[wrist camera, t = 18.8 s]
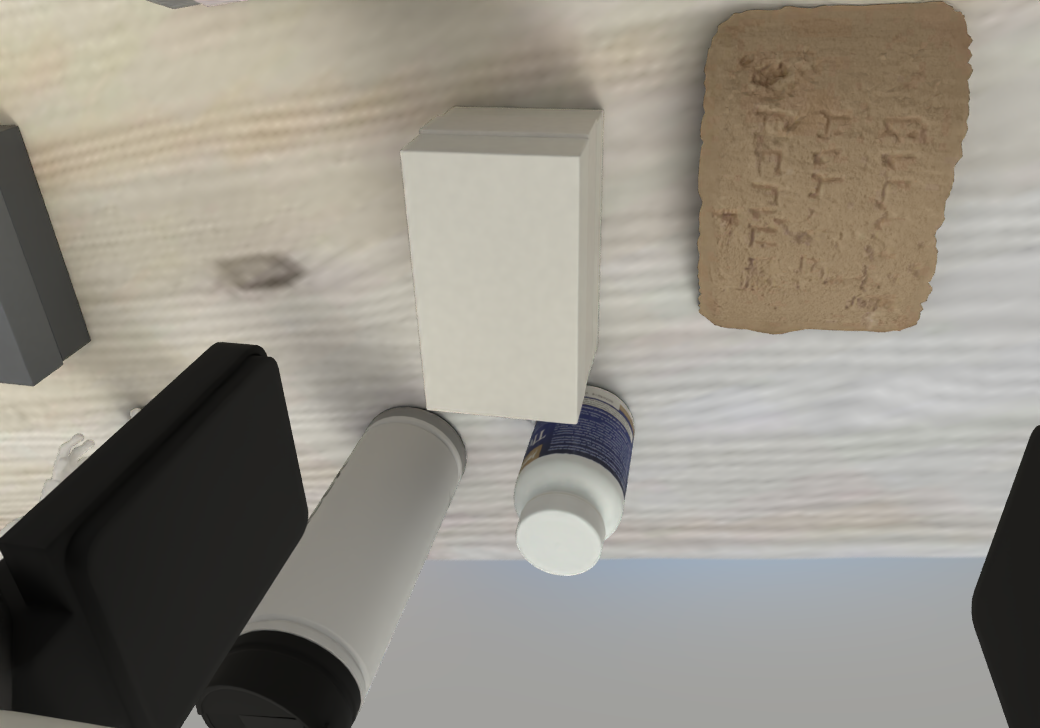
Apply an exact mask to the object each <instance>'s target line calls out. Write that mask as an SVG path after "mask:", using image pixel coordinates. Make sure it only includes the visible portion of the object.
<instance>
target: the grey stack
mask: <svg viewBox="0 0 1040 728" xmlns="http://www.w3.org/2000/svg"><path fill="white" fill-rule="evenodd" d="M90 341H91V340H90V337H89V334H88V331H87V328H86V325H85V323H84V320H83V317H82V314H81V311H80V308H79V305H78V302H77V299H76V296H75V293H74V290H73V287H72V284H71V281H70V278H69V275H68V272H67V269H66V267H65V264H64V261H63V258H62V255H61V252H60V249H59V246H58V243H57V240H56V237H55V234H54V231H53V228H52V225H51V222H50V219H49V216H48V213H47V211H46V208H45V205H44V202H43V199H42V196H41V193H40V190H39V187H38V184H37V181H36V178H35V175H34V172H33V169H32V166H31V163H30V160H29V157H28V155H27V152H26V149H25V146H24V143H23V140H22V137H21V134H20V131H19V128H18V126H1V125H0V383H7V384H17V385H26V386H35V385H36V384H37V383H39V382H40V381H41V380H43V379H44V378H46V377H47V376H48V375H50V374H51V373H52V372H54V371H55V370H57V369H58V368H59V367H61V366H62V365H63V361H64V360H65V359H67V358H68V357H69V356H71V355H72V354H73V353H75V352H76V351H78V350H79V349H80V348H82V347H83V346H84V345H86V344H87V343H89V342H90Z"/></svg>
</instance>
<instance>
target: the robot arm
mask: <svg viewBox="0 0 1040 728" xmlns="http://www.w3.org/2000/svg"><path fill="white" fill-rule="evenodd" d="M307 521H308V507H307V502H306V498H305V493H304V488H303V483H302V478H301V474H300V469H299V464H298V459H297V454H296V450H295V445H294V440H293V435H292V430H291V426H290V421H289V416H288V411H287V406H286V402H285V397H284V392H283V387H282V382H281V378H280V373H279V368H278V365H277V362H276V361H275V359H274V358H272V357H267V354H266V352H265V351H264V349H263V348H262V347H260V346H258V345H249V344H238V343H226V342H217V343H215V344H214V345H212V346H211V347H210V348H209V349H207V350H206V351H205V352H204V353H203V354H202V355H201V356H200V357H199V358H198V359H196V360H195V361H194V362H193V363H192V364H191V365H190V366H189V367H188V368H187V369H185V370H184V371H183V372H182V373H181V374H180V375H179V376H178V377H177V378H176V379H174V380H173V381H172V382H171V383H170V384H169V385H168V386H167V387H166V388H165V389H163V390H162V391H161V392H160V393H159V394H158V395H157V396H156V397H155V398H154V399H152V400H151V401H150V402H149V403H148V404H147V405H146V406H145V407H144V408H143V409H141V410H140V411H139V412H138V413H137V414H136V415H135V416H134V417H133V418H132V419H130V420H129V421H128V422H127V423H126V424H125V425H124V426H123V427H122V428H121V429H119V430H118V431H117V432H116V433H115V434H114V435H113V436H112V437H111V438H109V439H108V440H107V441H106V442H105V443H104V444H103V445H102V446H101V447H100V448H98V449H97V450H96V451H95V452H94V453H93V454H92V455H91V456H90V457H89V458H87V459H86V460H85V461H84V462H83V463H82V464H81V465H80V466H79V467H78V468H76V469H75V470H74V471H73V472H72V473H71V474H70V475H69V476H68V477H67V478H65V479H64V480H63V481H62V482H61V483H60V484H59V485H58V486H57V487H56V488H54V489H53V490H52V491H51V492H50V493H49V494H48V495H47V496H46V497H45V498H43V499H42V500H41V501H40V502H39V503H38V504H37V505H36V506H35V507H34V508H32V509H31V510H30V511H29V512H28V513H27V514H26V515H25V516H24V517H23V518H21V519H20V520H19V521H18V522H17V523H16V524H15V525H14V526H13V527H12V528H10V529H9V530H8V531H7V532H6V533H5V534H4V535H3V536H2V537H1V538H0V551H1V553H2V555H3V559H1V560H0V728H181V726H182V725H183V723H184V721H185V720H186V718H187V717H188V715H189V714H190V712H191V710H192V709H193V707H194V706H195V704H196V703H197V701H198V700H199V698H200V696H201V695H202V693H203V692H204V690H205V689H206V687H207V685H208V684H209V682H210V681H211V679H212V678H213V676H214V674H215V673H216V671H217V670H218V668H219V667H220V665H221V663H222V662H223V660H224V659H225V657H226V656H227V654H228V653H229V651H230V649H231V648H232V646H233V645H234V643H235V642H236V640H237V638H238V637H239V635H240V634H241V632H242V631H243V629H244V627H245V626H246V624H247V623H248V621H249V620H250V618H251V616H252V615H253V613H254V612H255V610H256V609H257V607H258V605H259V604H260V602H261V601H262V599H263V598H264V596H265V595H266V593H267V591H268V590H269V588H270V587H271V585H272V584H273V582H274V580H275V579H276V577H277V576H278V574H279V573H280V571H281V569H282V568H283V566H284V565H285V563H286V562H287V560H288V558H289V557H290V555H291V554H292V552H293V551H294V549H295V547H296V546H297V544H298V543H299V541H300V540H301V538H302V536H303V534H304V532H305V529H306V526H307ZM972 620H973V624H974V628H975V631H976V634H977V636H978V639H979V642H980V645H981V648H982V651H983V654H984V657H985V659H986V662H987V665H988V668H989V671H990V674H991V677H992V680H993V683H994V686H995V688H996V691H997V694H998V697H999V700H1000V703H1001V705H1002V709H1003V712H1004V714H1005V717H1006V720H1007V723H1008V726H1009V728H1040V425H1039V426H1037V427H1036V428H1035V429H1034V430H1033V432H1032V434H1031V436H1030V439H1029V441H1028V444H1027V447H1026V450H1025V452H1024V455H1023V458H1022V461H1021V463H1020V466H1019V469H1018V472H1017V474H1016V477H1015V480H1014V483H1013V485H1012V488H1011V491H1010V494H1009V496H1008V499H1007V502H1006V505H1005V508H1004V510H1003V513H1002V516H1001V519H1000V521H999V524H998V527H997V530H996V532H995V535H994V538H993V541H992V543H991V546H990V549H989V552H988V554H987V557H986V561H985V563H984V566H983V568H982V571H981V574H980V577H979V579H978V582H977V585H976V588H975V590H974V594H973V598H972Z"/></svg>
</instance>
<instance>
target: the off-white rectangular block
mask: <svg viewBox="0 0 1040 728" xmlns="http://www.w3.org/2000/svg"><path fill="white" fill-rule="evenodd" d="M603 125H604V110H593V109H547V108H501V107H455V106H454V107H452V108H451V109H450V110H449V111H447V112H446V113H445V114H444V115H436V116H435V117H434V118H433V119H431V120H430V121H429V122H428V123H427V124H425V125H424V126H423V127H422V128H420V129H419V134H440V135H476V136H512V137H547V138H583V139H588V140H589V162H588V225H587V287H586V349H585V388H586V385H587V381H588V377H589V373H590V369H591V368H592V365H593V361H594V357H595V353H596V349H597V345H598V318H599V280H600V241H601V202H602V164H603Z"/></svg>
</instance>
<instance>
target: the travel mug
mask: <svg viewBox="0 0 1040 728" xmlns="http://www.w3.org/2000/svg"><path fill="white" fill-rule="evenodd" d="M465 466H466V452H465V448H464V445H463V443H462V441H461V439H460V437H459V435H458V434H457V433H456V431H455V430H454V429H453V428H452V427H451V426H450V425H449V424H448V423H447V422H446V421H444V420H443V419H442V418H440V417H439V416H437V415H435V414H433V413H431V412H429V411H426V410H422V409H419V408H413V407H398V408H393V409H389V410H387V411H385V412H382V413H381V414H379V415H378V416H377V417H375V418H374V420H373V421H372V422H371V423H370V425H369V426H368V428H367V429H366V431H365V433H364V434H363V436H362V438H361V439H360V440H359V442H358V443H357V445H356V446H355V448H354V450H353V451H352V453H351V454H350V456H349V457H348V459H347V460H346V462H345V464H344V465H343V467H342V468H341V470H340V471H339V473H338V474H337V476H336V477H335V479H334V481H333V482H332V484H331V485H330V487H329V488H328V490H327V491H326V493H325V494H324V496H323V498H322V499H321V501H320V502H319V504H318V505H317V507H316V508H315V510H314V511H313V513H312V515H311V516H310V518H309V519H308V521H307V526H306V529H305V532H304V534H303V536H302V538H301V540H300V541H299V543H298V544H297V546H296V547H295V549H294V551H293V552H292V554H291V555H290V557H289V558H288V560H287V562H286V563H285V565H284V566H283V568H282V569H281V571H280V573H279V574H278V576H277V577H276V579H275V580H274V582H273V584H272V585H271V587H270V588H269V590H268V591H267V593H266V595H265V596H264V598H263V599H262V601H261V602H260V604H259V605H258V607H257V609H256V610H255V612H254V613H253V615H252V616H251V618H250V620H249V621H248V623H247V624H246V626H245V627H244V629H243V631H242V632H241V634H240V635H239V637H238V638H237V640H236V642H235V643H234V645H233V646H232V648H231V649H230V651H229V653H228V654H227V656H226V657H225V659H224V660H223V662H222V663H221V665H220V667H219V668H218V670H217V671H216V673H215V674H214V676H213V678H212V679H211V681H210V682H209V684H208V685H207V687H206V689H205V690H204V692H203V693H202V695H201V696H200V698H199V700H198V701H197V703H196V708H197V712H198V714H199V715H202V717H203V719H204V721H205V723H206V724H207V726H208V727H209V728H351V726H352V724H353V722H354V721H355V719H356V717H357V715H358V713H359V712H360V710H361V708H362V706H363V704H364V700H365V697H366V695H367V694H368V692H369V690H370V687H371V685H372V683H373V680H374V678H375V676H376V673H377V671H378V669H379V667H380V664H381V662H382V660H383V657H384V655H385V653H386V650H387V648H388V646H389V644H390V641H391V639H392V636H393V634H394V632H395V630H396V627H397V625H398V623H399V620H400V618H401V616H402V614H403V611H404V609H405V607H406V604H407V602H408V600H409V597H410V595H411V593H412V590H413V588H414V586H415V584H416V581H417V579H418V577H419V574H420V572H421V570H422V567H423V565H424V563H425V560H426V558H427V556H428V554H429V551H430V549H431V547H432V544H433V542H434V540H435V537H436V535H437V533H438V530H439V528H440V526H441V524H442V521H443V519H444V517H445V514H446V512H447V510H448V507H449V505H450V503H451V500H452V498H453V496H454V494H455V491H456V489H457V486H458V484H459V482H460V480H461V477H462V475H463V473H464V470H465Z"/></svg>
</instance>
